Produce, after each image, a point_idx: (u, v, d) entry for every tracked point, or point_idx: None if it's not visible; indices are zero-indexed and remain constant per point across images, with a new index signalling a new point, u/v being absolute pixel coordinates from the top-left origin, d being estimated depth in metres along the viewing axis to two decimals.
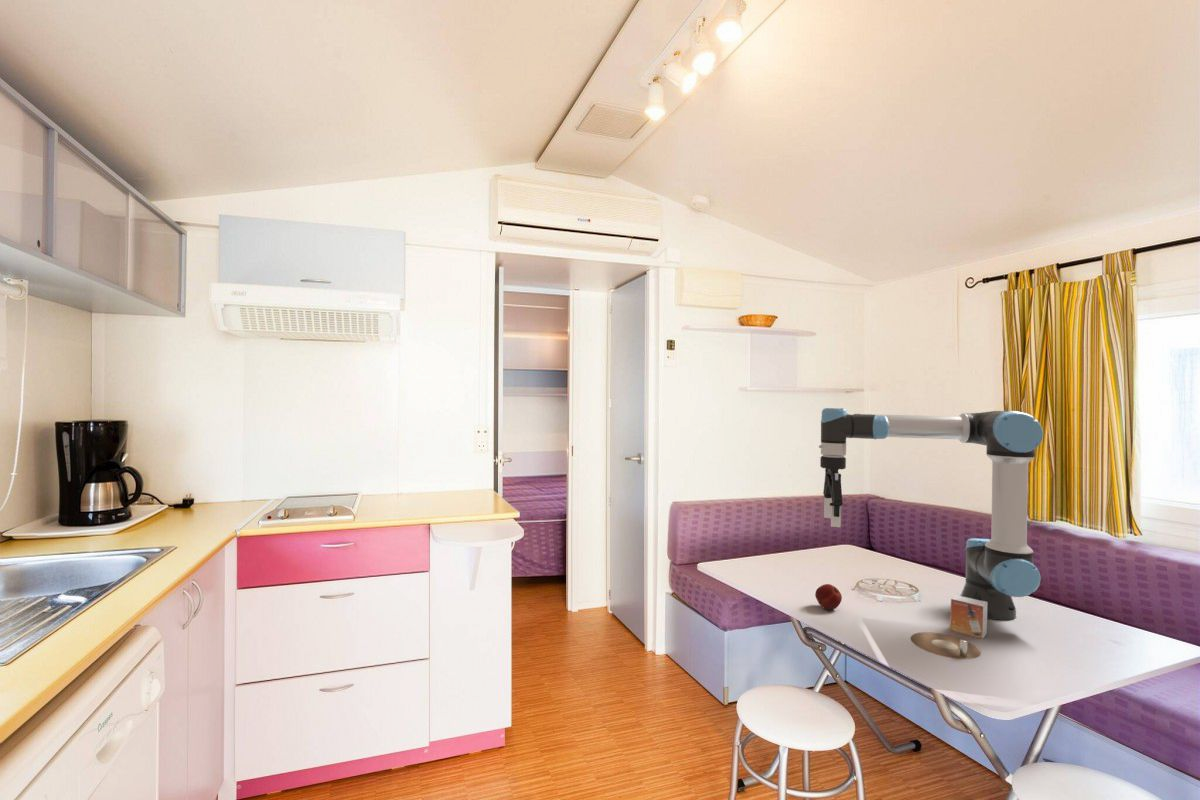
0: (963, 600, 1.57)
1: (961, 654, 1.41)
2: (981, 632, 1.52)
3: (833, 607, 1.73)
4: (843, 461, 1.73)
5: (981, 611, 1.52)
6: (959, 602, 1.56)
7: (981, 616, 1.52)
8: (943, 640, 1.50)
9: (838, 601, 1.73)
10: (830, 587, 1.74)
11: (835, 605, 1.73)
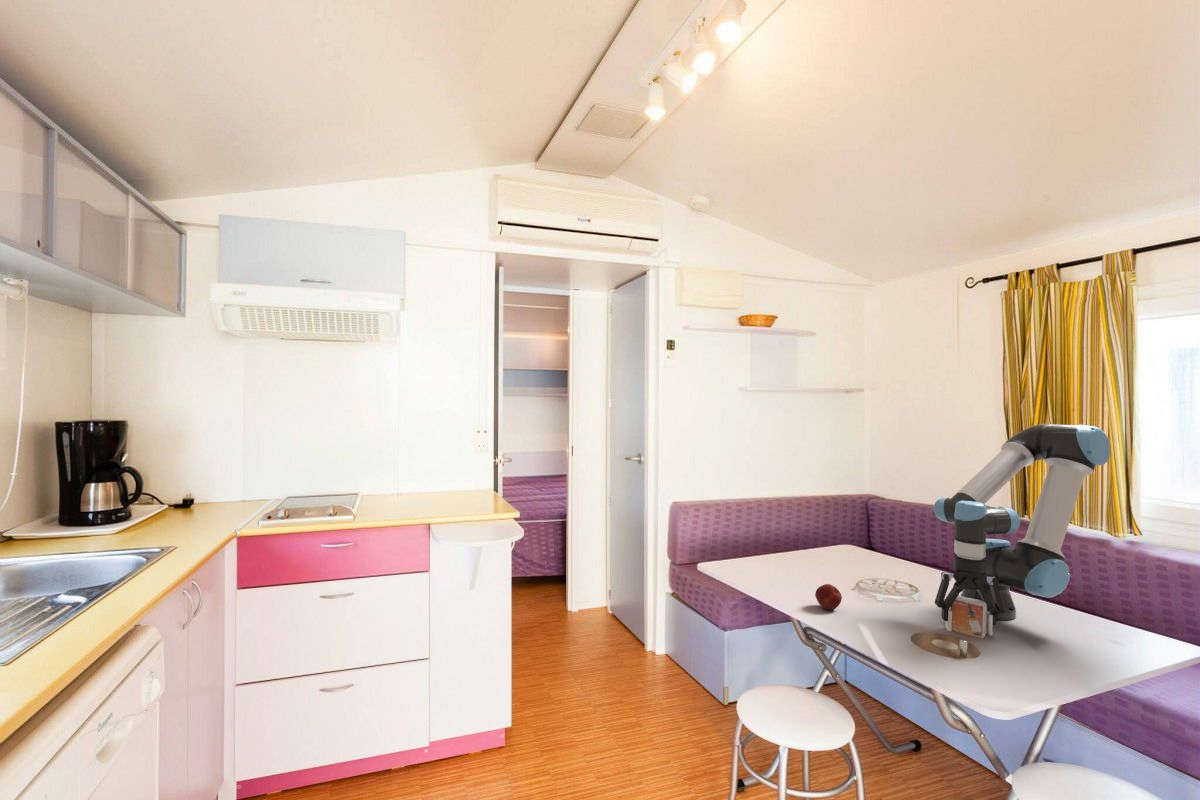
0: (963, 599, 1.57)
1: (961, 654, 1.41)
2: (981, 632, 1.52)
3: (833, 607, 1.73)
4: (963, 562, 1.55)
5: (981, 611, 1.52)
6: (959, 602, 1.56)
7: (981, 616, 1.52)
8: (943, 640, 1.50)
9: (838, 601, 1.73)
10: (830, 587, 1.74)
11: (835, 605, 1.73)
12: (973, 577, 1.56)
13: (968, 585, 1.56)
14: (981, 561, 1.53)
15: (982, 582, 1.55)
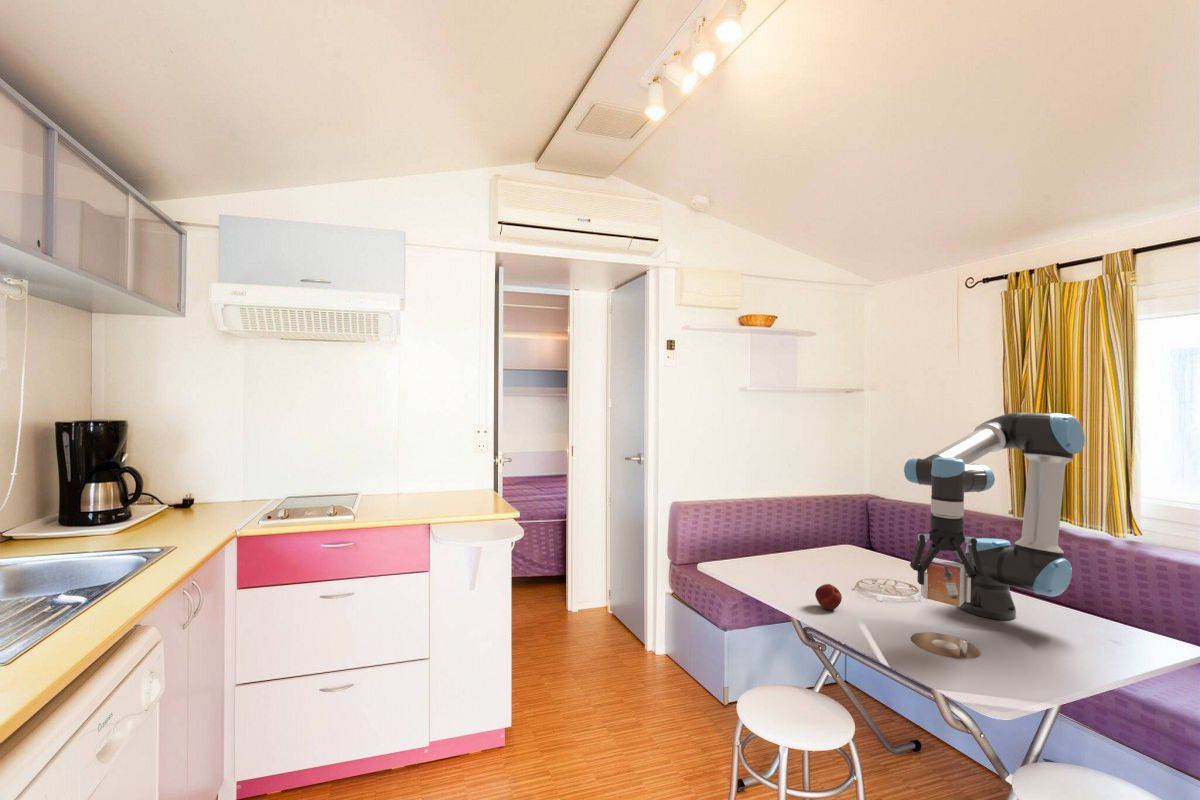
0: (940, 561, 1.47)
1: (961, 654, 1.41)
2: (958, 595, 1.43)
3: (833, 607, 1.73)
4: (939, 521, 1.46)
5: (958, 572, 1.43)
6: (936, 564, 1.47)
7: (958, 578, 1.43)
8: (943, 640, 1.50)
9: (838, 601, 1.73)
10: (830, 587, 1.74)
11: (835, 605, 1.73)
12: (951, 537, 1.46)
13: (945, 546, 1.47)
14: (958, 520, 1.44)
15: (960, 543, 1.46)
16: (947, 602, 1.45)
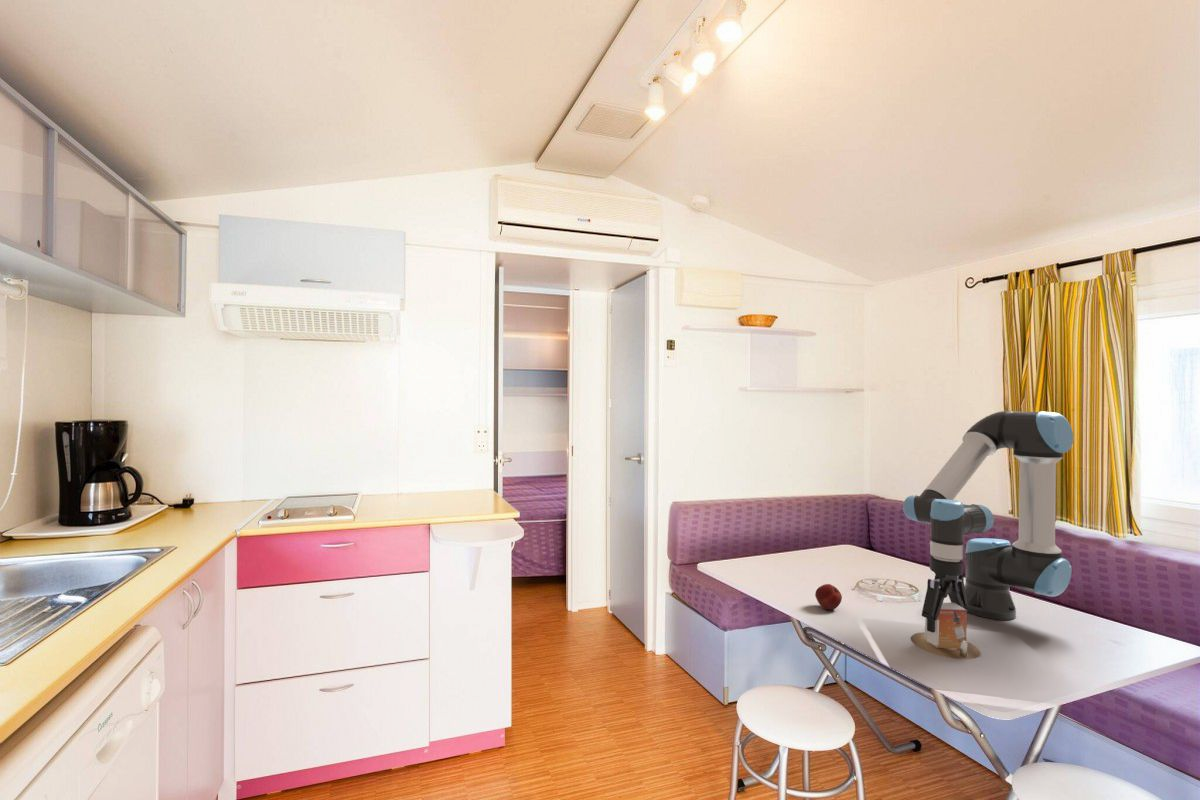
0: (944, 606, 1.46)
1: (961, 654, 1.41)
2: (965, 637, 1.45)
3: (833, 607, 1.73)
4: (951, 566, 1.44)
5: (965, 615, 1.45)
6: (946, 611, 1.45)
7: (965, 620, 1.45)
8: None
9: (838, 601, 1.73)
10: (830, 587, 1.74)
11: (835, 605, 1.73)
12: (951, 579, 1.47)
13: None
14: (961, 561, 1.46)
15: None
16: (955, 647, 1.45)
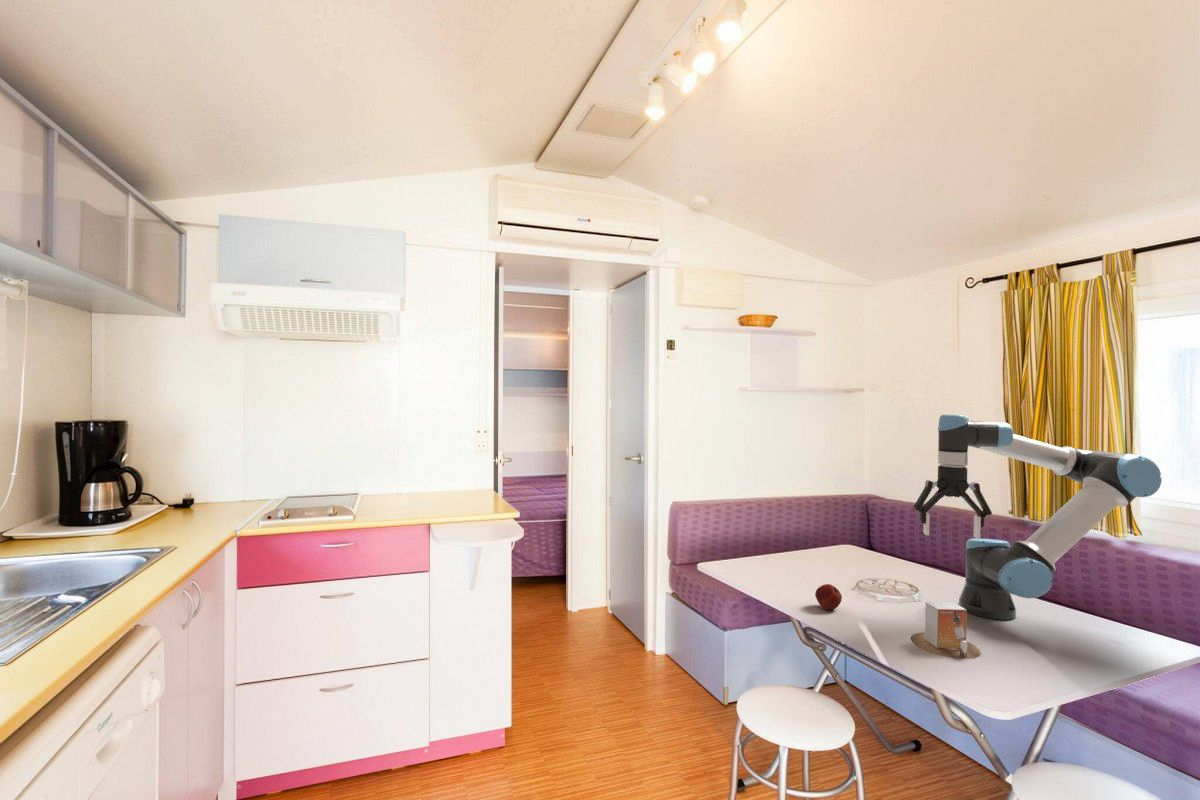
0: (944, 607, 1.46)
1: (961, 654, 1.41)
2: (965, 637, 1.45)
3: (833, 607, 1.73)
4: (946, 470, 1.63)
5: (965, 615, 1.45)
6: (945, 611, 1.45)
7: (965, 620, 1.45)
8: None
9: (838, 601, 1.73)
10: (830, 587, 1.74)
11: (835, 605, 1.73)
12: (956, 485, 1.64)
13: (951, 492, 1.64)
14: (963, 468, 1.62)
15: (964, 489, 1.63)
16: (955, 647, 1.45)
